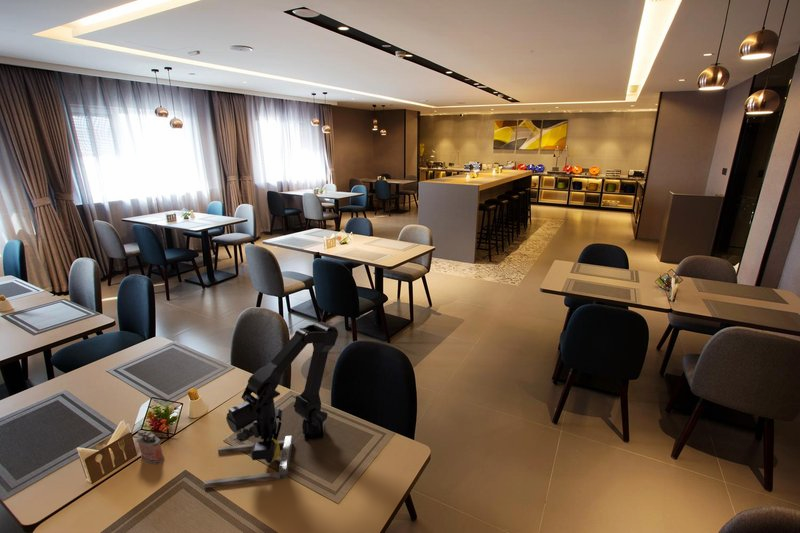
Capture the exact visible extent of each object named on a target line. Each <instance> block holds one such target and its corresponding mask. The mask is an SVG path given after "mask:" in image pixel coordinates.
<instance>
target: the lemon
mask: <svg viewBox="0 0 800 533" xmlns="http://www.w3.org/2000/svg"><path fill="white" fill-rule="evenodd" d="M272 440H273V441H274V442H275V444H277V447H276V451H275V455H274V457H273V459H272V462H274V461H275V460H276V459H277V458H278V457H279V455H280V451H281V449H280V448H281V447H279V443H278V442H277V441H278V439H277V440H275V439H273V438H272ZM263 460H264V461H265V462H267V461H266V460H265V459H263Z"/></svg>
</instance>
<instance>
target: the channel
mask: <svg viewBox="0 0 800 533" xmlns="http://www.w3.org/2000/svg"><path fill="white" fill-rule="evenodd" d="M284 437H285V438H284V439H283V440H277V442H278V443H279V447H280V448H281V447H282V452H281V457H280V462H279V467H278V468H279V469H278V471H276V472H267V473H260V474H259V473H257V474H250V475H248V474H247V475H242V476H241V475H240V476H233V477H225V478H224V477H223V478H216V479H215V478H214V479H207V480H204V482H203V486H204V489H207V488H208V489H209V488H215V487H223V486H224V487H225V486H226V487H227V486H232V485H240V484H251V483H258V482H259V483H260V482H265V481H275V480H276V481H277V480H284V479H287V478H288V473H289V467H290V461H291V456H292V455H291V454H292V447H293V435H286V436H284ZM255 443H256V442H254V443H253V442H252V443H246V444H245V443H244V444H235V445H226V446H218V449H217V453H218V454H219V455H220V454H227V453H228V454H229V453H237V452H246V451H252V448H253V445H254V444H255Z"/></svg>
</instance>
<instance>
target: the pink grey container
mask: <svg viewBox="0 0 800 533" xmlns="http://www.w3.org/2000/svg"><path fill="white" fill-rule="evenodd" d="M137 435H138V436H137V438H136V441H137V443H138V447H139V449H140V450H139V451H140V453H141V455H140V458H141V460H142V461H144V462H146V463H149V464H154V465H159V464H162V463H163V462H164V461H165V456H164V454H163V450H162V447H161V446H162V445H161V439H160V438H159V437H158V436H156V434H154V433H152V431H149V430H148V431H145V430H141V429H140V430H138V431H137Z"/></svg>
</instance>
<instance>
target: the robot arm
mask: <svg viewBox="0 0 800 533" xmlns="http://www.w3.org/2000/svg"><path fill="white" fill-rule="evenodd" d="M338 336H339V331H338V329H337V327H335V326H333V325H330V324H329V323H327V322H324V321H319V322H317V323H315V324H314V323H313V324H309V325H306V326H305V327H300V328H298V329H296V331H295V332H294V335H293V336H292V337H291V338H290V339H289V340H288V341H287V342H286V344H285V345H284V346H283V347H282V349H281V350H279V351H278V353H277V354H276V355H275V356H274V357H273V359H271V361H270V362H269V363H267V364H266V365H264V366H262V367H260V368H258V369H257V370H256V371H255V372H254V373H253V374H251V376H250V377H249V378H248V379H247V380H248V381H247V385H246V387H245V389H244V390H243V393H242V394H241V397H240V398H241V399H242V400H243V402H241V403H239V404H237V405H236V406H232V407H230V408H228V413H226V417H225V419H226V422H227V425H228V427H229V429H230V431H232V432H233V433H234V434H236V440H238V441H239V442H240V443H243V442H246V441H249V439H250V438H251V437H254V438H255V439H258V438H259V439H260V440H262V441H256V442H254V443H255V444H254V445H253V448H252V450H251V453H250V457H251V460H252V461H260V460H264V459H265V460H266V461H265V460H264V461H265V462H266V463H267V464H271V463H272V462H273V461H272V459H273V457H274V455H275V451H276V447H277V444H275V442H274V441H273V440H272V438H273V439H275V440H277V441H278V437H279V434H280V431H281V428H282V421H283V418H284V413H283V410H282V409H281V408H276V407H275V400H274V399H276V398H277V397H279V396H280V395H281V393H280V392H279V391H278V390H276V389H277V388H278V386H280V382H281V378H282V376H283V374H284V373H285V372H286V370H287V369H288V367H290V365H291V364H292V363H293V362H294V361H295V360H296V359H297V357H298V356H299V355H300V353H302V351H303V350H304V349H305V347H306V346H307V345H308V344H312V349H313V350H312V354H311V359H310V364H309V368H308V372H307V376H306V382H305V386H304V390H303V391H302V392H301V393H300V394H299V395H298V394H297V395H296V396H295V401H294V403H293V408H294V412H295V414H297V415H298V416H299V417H301V418H302V419H303V420H302V423H301V424H302V425H301V426H302V427H301V428H302V435H304V436H303V439H304V441H308V440H309V441H311V440H317V439H324V437H325V428H326V427H325V426H326V425H325V423H324V422H325V421H326V420H327V418H328V415H329V414H328V412H326V411H325V410H323V409H322V401H321V396H320V391H321V386H322V382H323V378H324V374H325V368H326V365H327V364H326V363H327V359H328V355H329V352H330V351H331V350H332V349H333V348H334V346H335V345H336V342H337V339H338ZM252 393H253V394H255V395H256V397H255V396H254V395H253V394H252Z"/></svg>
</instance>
